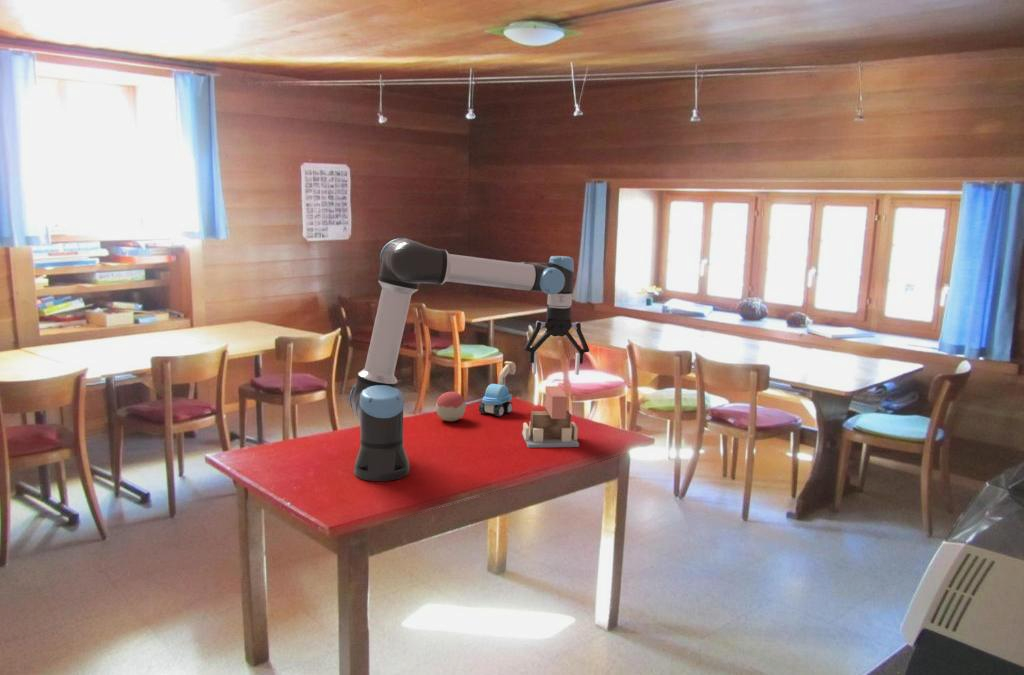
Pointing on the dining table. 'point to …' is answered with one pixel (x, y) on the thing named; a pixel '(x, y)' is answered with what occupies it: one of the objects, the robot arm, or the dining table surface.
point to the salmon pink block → (556, 402)
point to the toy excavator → (498, 394)
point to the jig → (566, 439)
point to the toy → (450, 406)
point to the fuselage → (549, 424)
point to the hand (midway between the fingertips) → (555, 373)
